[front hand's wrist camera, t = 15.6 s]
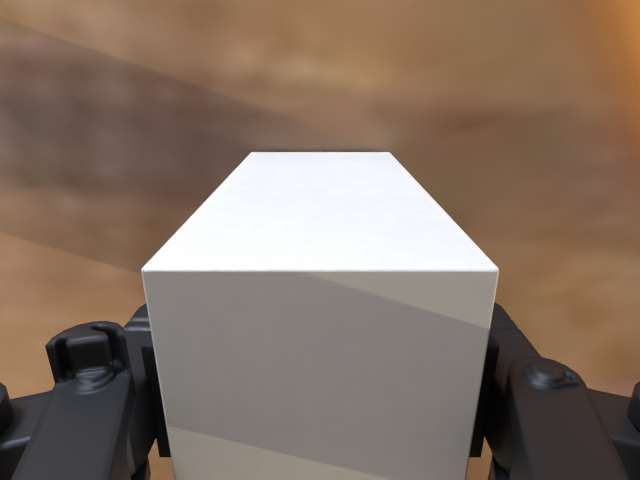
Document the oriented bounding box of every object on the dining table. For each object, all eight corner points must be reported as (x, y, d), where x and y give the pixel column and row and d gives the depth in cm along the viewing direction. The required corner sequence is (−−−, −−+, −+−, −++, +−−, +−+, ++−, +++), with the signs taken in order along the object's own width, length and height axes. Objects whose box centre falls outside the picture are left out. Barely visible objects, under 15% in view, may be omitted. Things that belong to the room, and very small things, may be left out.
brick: (250, 151, 16) (138, 268, 6) (389, 151, 16) (501, 269, 6) (259, 310, 18) (190, 578, 9) (381, 311, 18) (450, 579, 9)
